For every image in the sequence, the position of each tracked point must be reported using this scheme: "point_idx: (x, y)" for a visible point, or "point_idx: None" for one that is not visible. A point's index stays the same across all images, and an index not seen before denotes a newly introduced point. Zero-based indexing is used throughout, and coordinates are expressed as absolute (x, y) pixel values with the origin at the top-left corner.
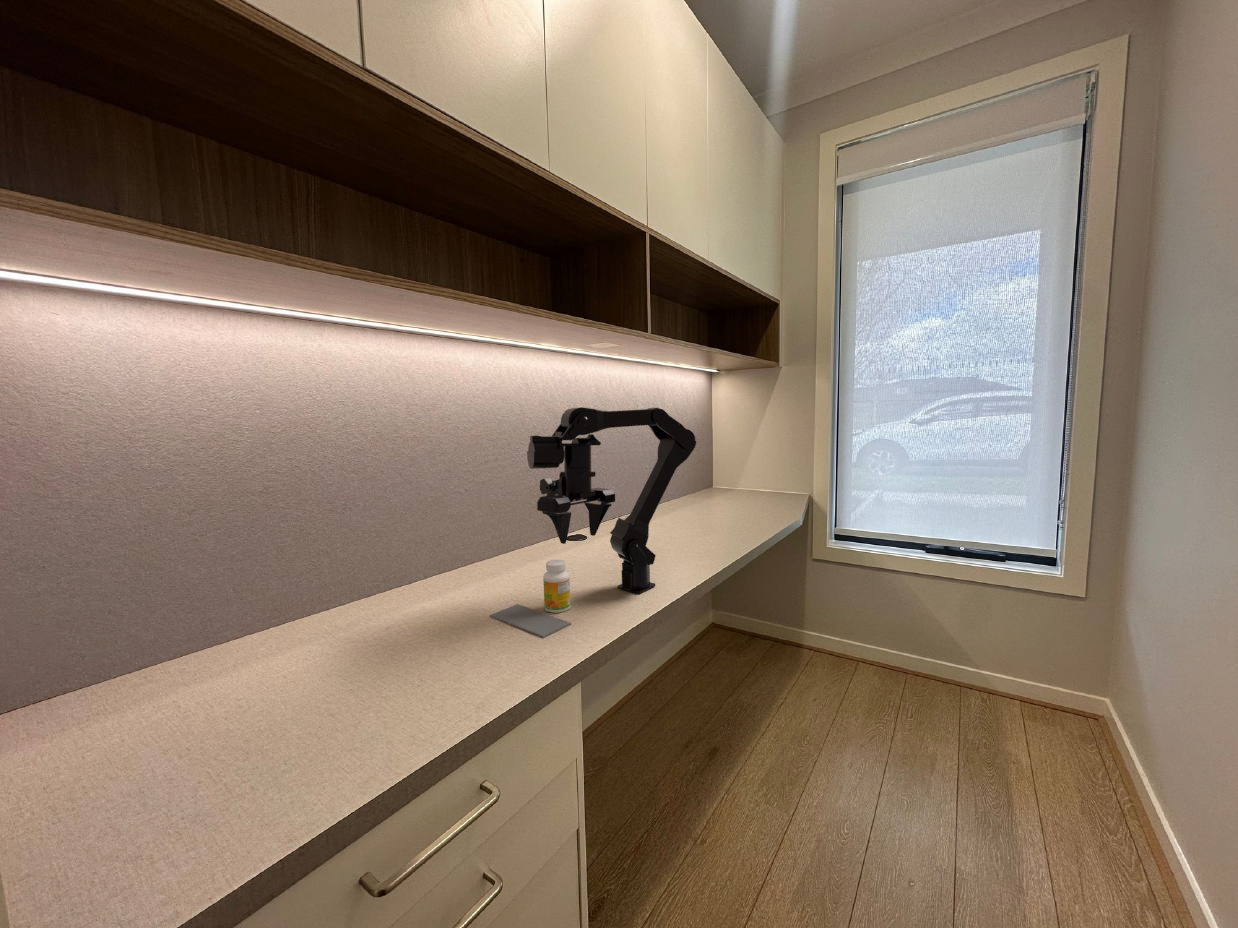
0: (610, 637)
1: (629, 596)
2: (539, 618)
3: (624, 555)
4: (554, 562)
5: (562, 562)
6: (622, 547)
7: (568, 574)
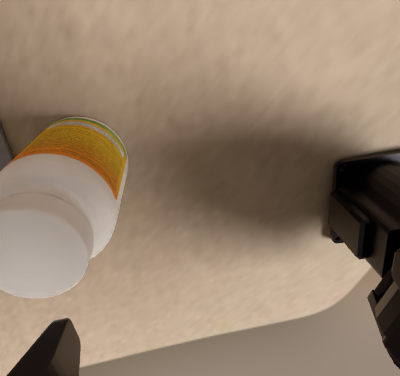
0: (98, 358)
1: (301, 231)
2: None
3: (377, 309)
4: (22, 253)
5: (60, 279)
6: (387, 348)
7: (97, 253)
